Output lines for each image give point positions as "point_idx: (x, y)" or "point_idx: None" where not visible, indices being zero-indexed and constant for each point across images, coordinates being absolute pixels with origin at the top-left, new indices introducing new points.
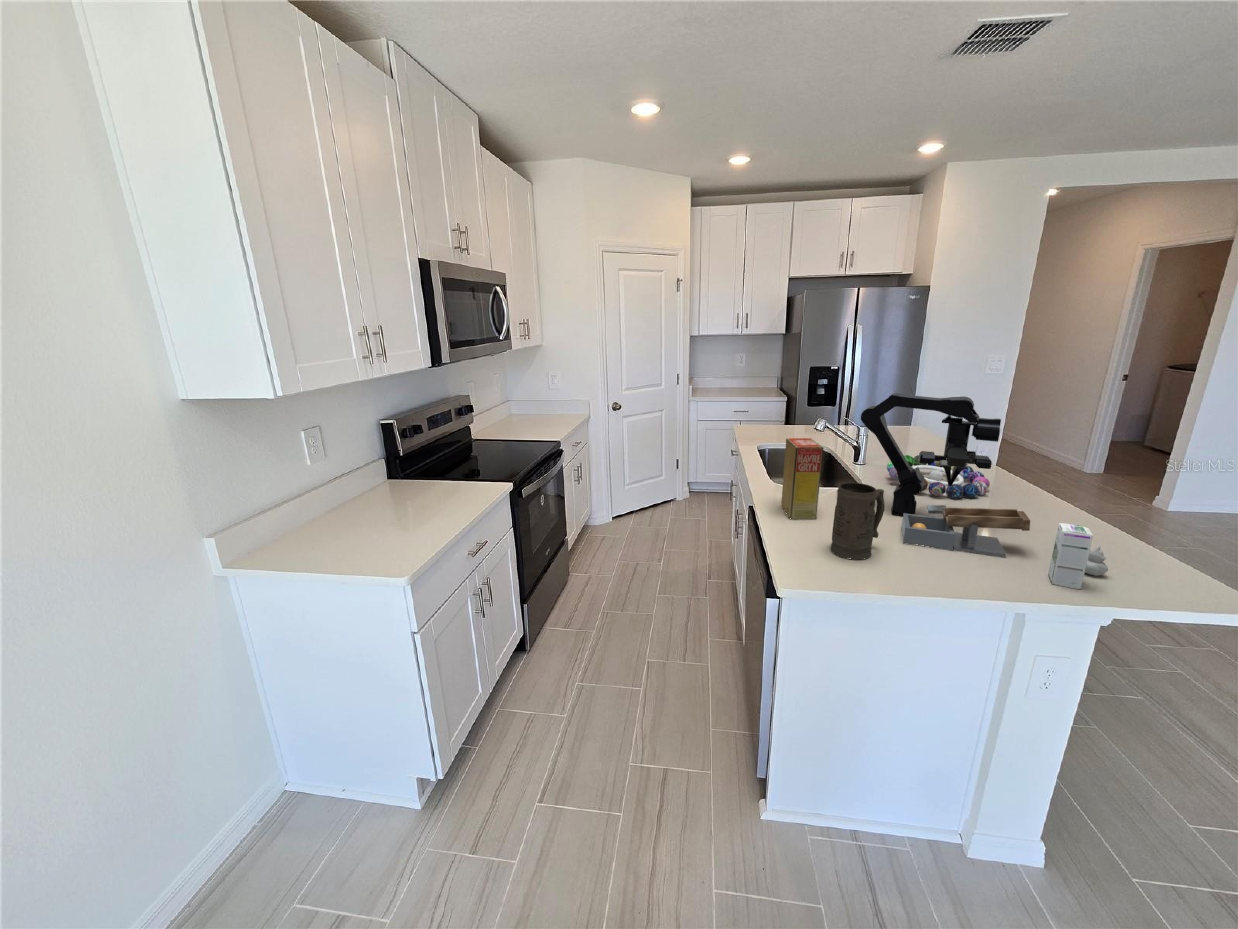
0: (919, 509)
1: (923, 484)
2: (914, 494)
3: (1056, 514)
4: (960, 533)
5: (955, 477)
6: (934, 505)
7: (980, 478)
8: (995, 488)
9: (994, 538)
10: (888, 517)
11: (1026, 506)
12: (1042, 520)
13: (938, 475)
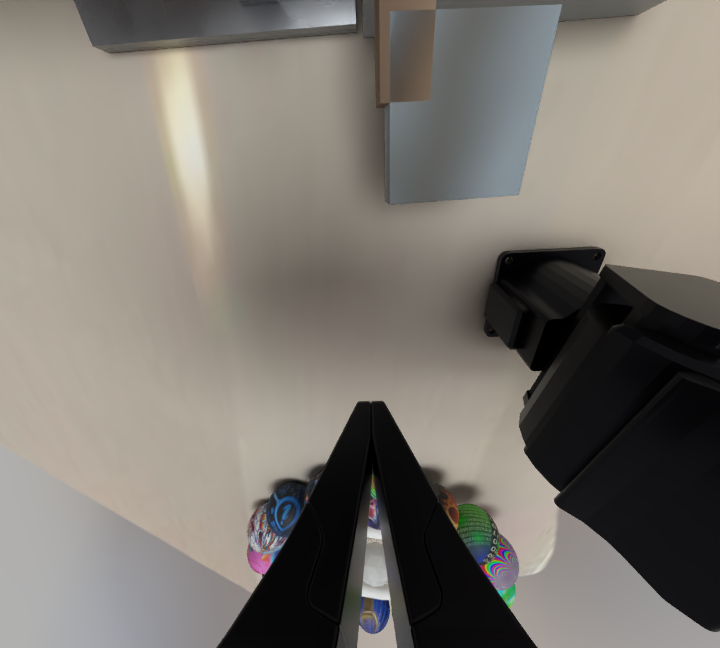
0: (447, 360)
1: (535, 430)
2: (602, 307)
3: (75, 449)
4: (289, 13)
5: (321, 496)
6: (468, 193)
7: (265, 566)
8: (244, 539)
9: (98, 14)
10: (633, 203)
11: (155, 474)
12: (81, 399)
13: (370, 563)
